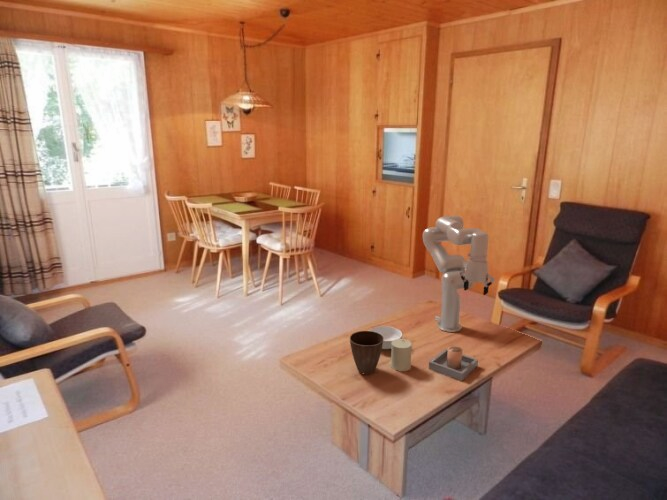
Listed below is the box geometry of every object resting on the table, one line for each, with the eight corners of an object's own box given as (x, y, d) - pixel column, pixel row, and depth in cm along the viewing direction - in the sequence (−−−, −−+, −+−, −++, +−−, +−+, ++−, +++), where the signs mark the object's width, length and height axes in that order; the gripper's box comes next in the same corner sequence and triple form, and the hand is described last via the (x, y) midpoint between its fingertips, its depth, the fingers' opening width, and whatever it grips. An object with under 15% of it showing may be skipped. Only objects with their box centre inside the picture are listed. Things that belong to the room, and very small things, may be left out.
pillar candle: (412, 363, 209) (413, 339, 206) (409, 372, 201) (410, 348, 198) (392, 359, 212) (393, 336, 209) (388, 369, 204) (389, 345, 201)
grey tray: (428, 368, 204) (429, 361, 203) (445, 355, 216) (445, 348, 215) (461, 381, 194) (462, 373, 193) (477, 366, 206) (478, 359, 205)
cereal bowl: (363, 350, 222) (363, 337, 220) (373, 336, 237) (373, 323, 235) (397, 356, 216) (397, 342, 214) (405, 341, 231) (405, 328, 229)
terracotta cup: (443, 365, 205) (445, 349, 203) (451, 360, 209) (452, 344, 207) (456, 370, 200) (457, 353, 198) (463, 365, 205) (465, 349, 203)
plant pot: (344, 365, 208) (344, 333, 203) (373, 359, 213) (374, 328, 209) (358, 382, 194) (358, 348, 190) (388, 375, 199) (389, 342, 195)
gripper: (457, 256, 217) (455, 290, 221) (493, 263, 206) (489, 298, 210) (464, 253, 222) (462, 286, 227) (499, 259, 211) (496, 293, 216)
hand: (475, 291), depth 218 cm, fingers open, 9 cm apart
